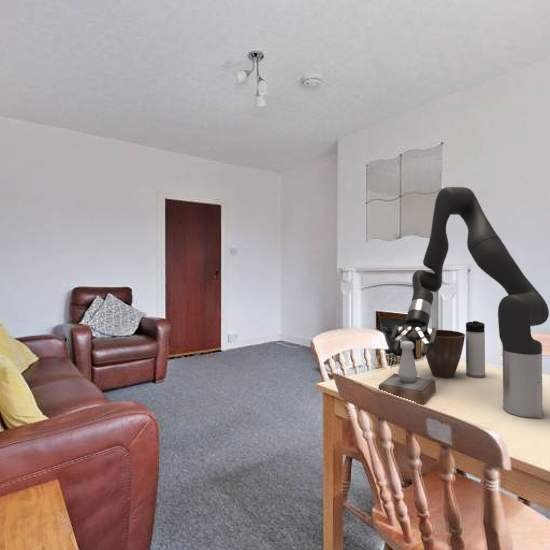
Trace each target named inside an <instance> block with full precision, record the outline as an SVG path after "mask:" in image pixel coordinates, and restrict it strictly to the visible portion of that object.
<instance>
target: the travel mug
mask: <svg viewBox="0 0 550 550" xmlns="http://www.w3.org/2000/svg"><path fill="white" fill-rule="evenodd" d="M485 326H486V325H485V323H483V322H481V321H477V320H473V321H467V322H466V323H465V374H466V375H467V376H468V377H469V378H470V377H471V378H474V377H476V379H481V378H485V377H486V333H485V329H486V327H485Z"/></svg>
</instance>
